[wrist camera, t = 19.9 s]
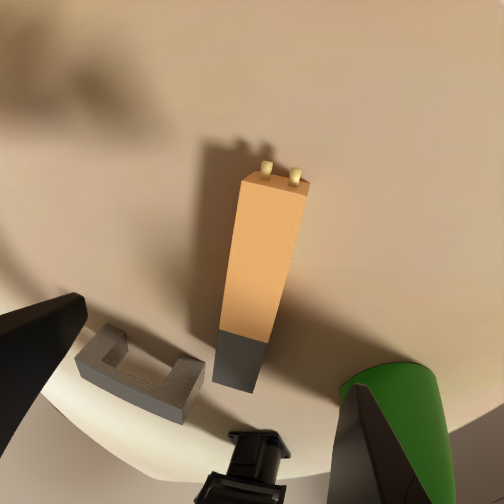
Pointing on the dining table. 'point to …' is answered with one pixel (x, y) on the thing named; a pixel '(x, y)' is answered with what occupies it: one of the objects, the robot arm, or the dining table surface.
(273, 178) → the plug
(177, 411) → the housing
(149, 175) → the dining table surface
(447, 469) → the green tall cylinder
